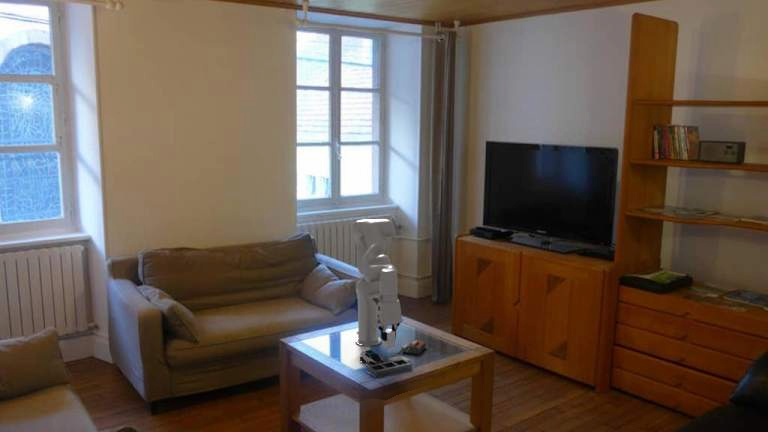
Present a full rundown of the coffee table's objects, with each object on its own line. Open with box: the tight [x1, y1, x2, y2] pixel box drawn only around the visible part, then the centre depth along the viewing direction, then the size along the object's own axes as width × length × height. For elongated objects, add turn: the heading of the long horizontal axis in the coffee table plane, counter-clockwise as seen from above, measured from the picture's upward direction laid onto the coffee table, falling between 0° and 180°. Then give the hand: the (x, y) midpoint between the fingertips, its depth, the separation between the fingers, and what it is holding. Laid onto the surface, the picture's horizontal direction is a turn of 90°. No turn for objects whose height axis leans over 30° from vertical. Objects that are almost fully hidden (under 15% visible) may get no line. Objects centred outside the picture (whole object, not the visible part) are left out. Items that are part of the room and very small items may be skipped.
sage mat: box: [387, 354, 411, 362], centre depth 303 cm, size 7×7×1 cm
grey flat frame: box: [366, 358, 413, 378], centre depth 290 cm, size 18×8×2 cm, turn 122°
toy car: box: [359, 349, 385, 366], centre depth 299 cm, size 6×12×5 cm, turn 31°
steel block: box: [381, 328, 396, 349], centre depth 289 cm, size 4×4×7 cm
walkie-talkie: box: [396, 339, 426, 356], centre depth 313 cm, size 9×4×20 cm
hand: (388, 338), depth 289 cm, fingers closed on steel block, 4 cm apart
